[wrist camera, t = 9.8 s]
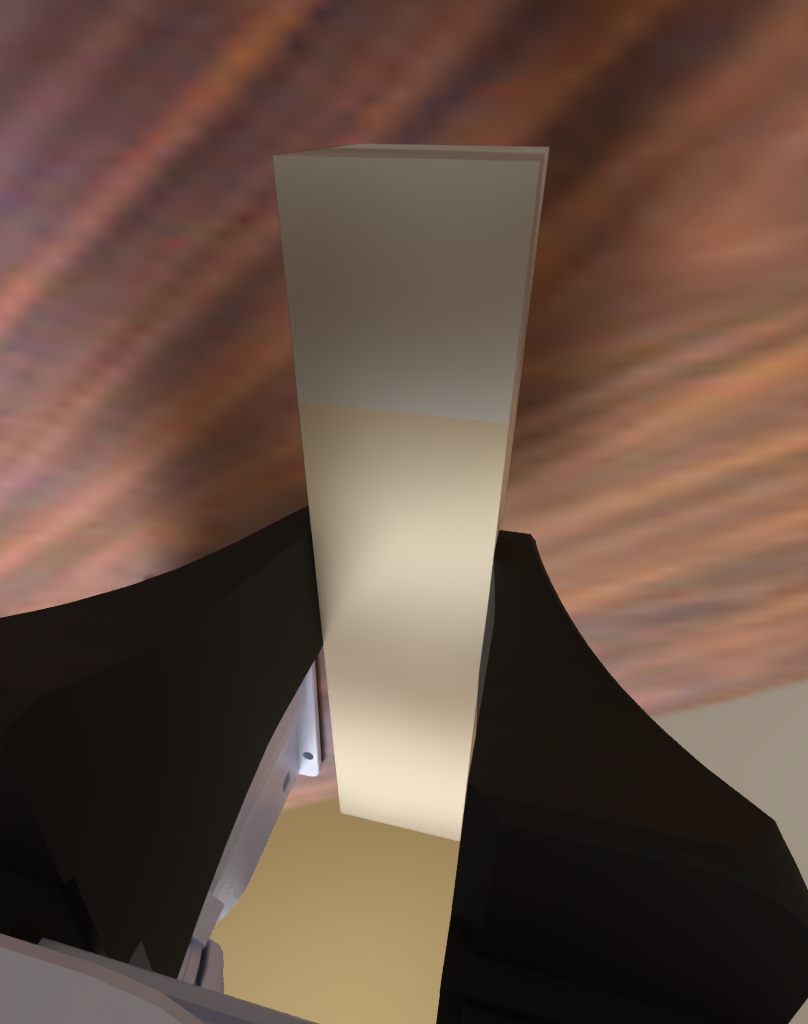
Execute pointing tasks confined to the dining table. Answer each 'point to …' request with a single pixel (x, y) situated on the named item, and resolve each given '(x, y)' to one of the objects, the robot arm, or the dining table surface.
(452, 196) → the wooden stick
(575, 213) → the dining table surface
